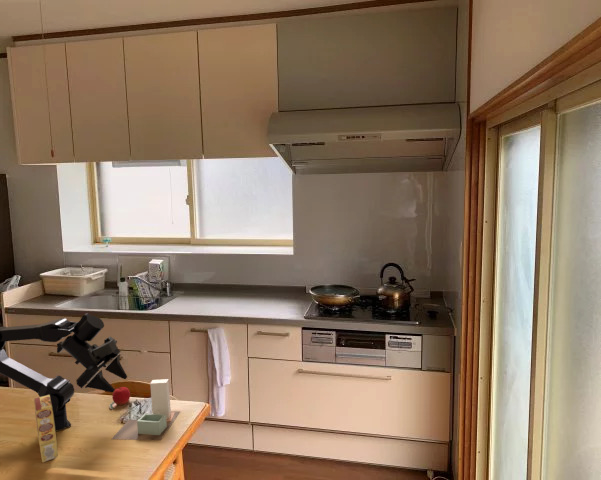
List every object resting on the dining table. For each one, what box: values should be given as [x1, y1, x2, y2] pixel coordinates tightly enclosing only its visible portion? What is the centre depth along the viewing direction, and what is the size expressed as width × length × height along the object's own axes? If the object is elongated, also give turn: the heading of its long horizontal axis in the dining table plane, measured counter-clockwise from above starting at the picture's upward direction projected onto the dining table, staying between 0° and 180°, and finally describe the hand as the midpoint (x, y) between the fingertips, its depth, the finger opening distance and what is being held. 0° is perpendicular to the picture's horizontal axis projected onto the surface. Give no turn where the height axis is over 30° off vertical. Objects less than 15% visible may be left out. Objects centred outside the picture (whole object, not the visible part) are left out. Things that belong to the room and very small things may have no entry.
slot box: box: [137, 413, 167, 435], centre depth 136 cm, size 7×5×4 cm, turn 80°
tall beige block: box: [149, 378, 172, 419], centre depth 143 cm, size 5×3×12 cm, turn 93°
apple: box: [108, 386, 131, 410], centre depth 154 cm, size 8×8×6 cm
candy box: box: [33, 395, 59, 463], centre depth 127 cm, size 9×4×15 cm, turn 33°
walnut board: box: [111, 410, 181, 441], centre depth 139 cm, size 15×16×1 cm
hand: (120, 384), depth 139 cm, fingers open, 9 cm apart
